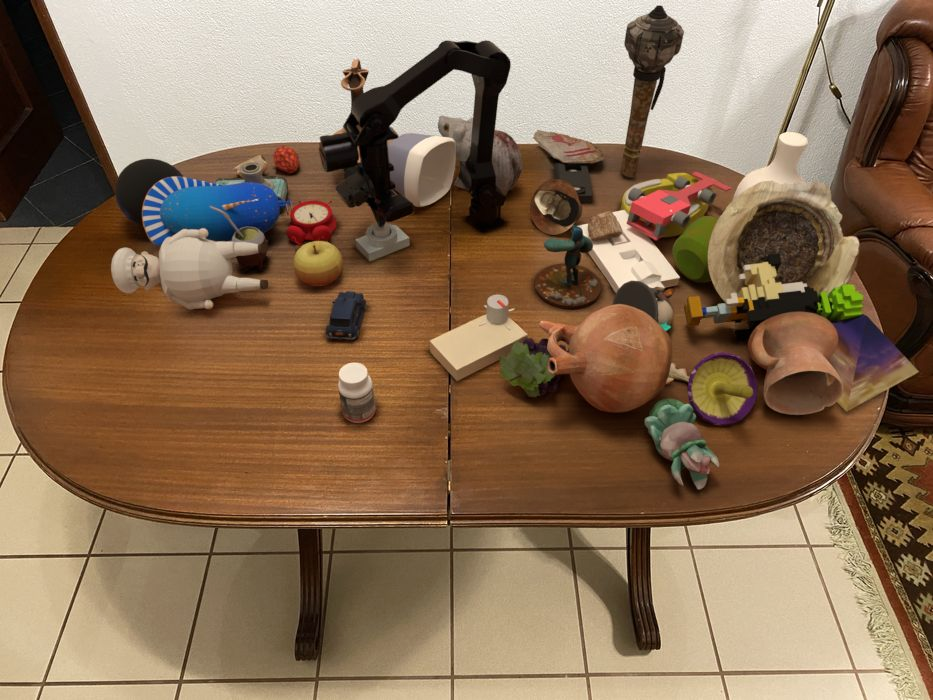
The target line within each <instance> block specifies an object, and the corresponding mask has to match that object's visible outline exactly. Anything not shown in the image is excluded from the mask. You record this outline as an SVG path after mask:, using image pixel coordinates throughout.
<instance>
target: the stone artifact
mask: <svg viewBox="0 0 933 700" xmlns="http://www.w3.org/2000/svg"><path fill="white" fill-rule="evenodd" d="M532 139H533V140H534V141H535V142H536V143H537V144H538V146H539V148H541V149H543V150H544V151H546V153H548V154H549V155H550V156H551V157H552V158H553V159H555V160H558V161H559V162H560V163H562V164H563V163H576V164H595V163H599V162H601V161H605V160H606V157H605V155H604V153H603V151H601V150H600V149H599V148H598V147H597V146H596V145H595V144H594V143H593V142H591V141H588V140H585V139H581V138H577V137H574V136H570V135H568V134H564V133H557V132H555V131H554V132H553V131H545V130H541V129H537V130H536V131H535V132H534V134H533V137H532Z"/></svg>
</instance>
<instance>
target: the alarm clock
mask: <svg viewBox="0 0 933 700" xmlns="http://www.w3.org/2000/svg"><path fill="white" fill-rule="evenodd" d="M332 203H333V201H332V200H329V202H328V203H326V202H324V201H321V200H307V201H303V202H301V200H298V204H296V205H295V206H293V212H292V211H291V210H290V212H289V219H290V223H289V226H288V228H287V229H286V236H287V238H288V239H289V241H290V242H292V243H294V244H297V245H300V246H303V245H305V244H306V243H303V242H305V241H325V242H328V241H329V240H330V239H331V238H332V234H333V233H334V232H335V231H336V229H337V226H338V224H337V219H336V218H335V216H334V214H333V209H332V208H331V206H330V204H332Z"/></svg>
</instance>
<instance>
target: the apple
mask: <svg viewBox="0 0 933 700" xmlns="http://www.w3.org/2000/svg"><path fill="white" fill-rule="evenodd" d="M304 244H305V245H301V246H300V247H299V248H298V249H297V250H296V252H295V254H294V256H293V259H292V263H293V264H292V265H293V270H294V273H295V276H297V278H298V279H299V280H300V281H301V282H302V283H304V284H306V285H308V286H312V287H322V286H327V285H329V284H331V283H333V282H334V281H336V280H337V279H338V278H339V276H340V274H341V273H342V271H343V269H344V267H343V266H344V265H343V263H344V261H343V256H342V255H343V254H342V253H341V251H340V250H339V249H338V247H337V246H335V245H334V244H332V243H330V242H328V241H327V242H325V241H314V240H312V241H309V242H307V243H304Z"/></svg>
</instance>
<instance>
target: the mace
mask: <svg viewBox="0 0 933 700" xmlns="http://www.w3.org/2000/svg"><path fill="white" fill-rule="evenodd" d="M684 35H685V30H684V29H683V26H681V24H679V22H678V21H677V20H675V19H674V18H672V17H671V16H670V15H668V13H667V11H666V10H665V8H664V6H663V5H661V4H659V5H656V6H655V7H654V8H653V9H651V11H649V12H648V13H646V14H643V15H641V16H637V17H636V18H635V19H634V20H632V21H630V22H629V23H627V25H626V29H625V36H624V37H625V38H624V43H623V44H624V48H625V50H626V51H627V54H628V58H629V59H630V61H631V62H632V64H633V66H634V68H633V72H632V76H633V78H634V80H633V88H632V97H631V103H630V112H629V119H628V124H627V131H626V137H625V143H624V149H623V152H622V159H621V165H620V173H621V174H622V175H624V176H625V177H627V178H633V177H636V176H637V173H638V167H639V163H640V159H641V154H642V153H641V150H642V147H643V142H644V138H645V133H646V129H647V125H648V124H647V122H648V118H649V115H650V110H651V111H653V110H654V109H655V106H656V104H657V101H658V100H659V97H660V94H661V92H662V89H663V86H664V82H665V75H666V65H668V64H670V63H671V62H672V60H673V59H674V57H675V56H677V55H678V54H679V53H680V51H681V49H682V44H683V40H684ZM658 80H659V81H658ZM657 83H658V84H657Z"/></svg>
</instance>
